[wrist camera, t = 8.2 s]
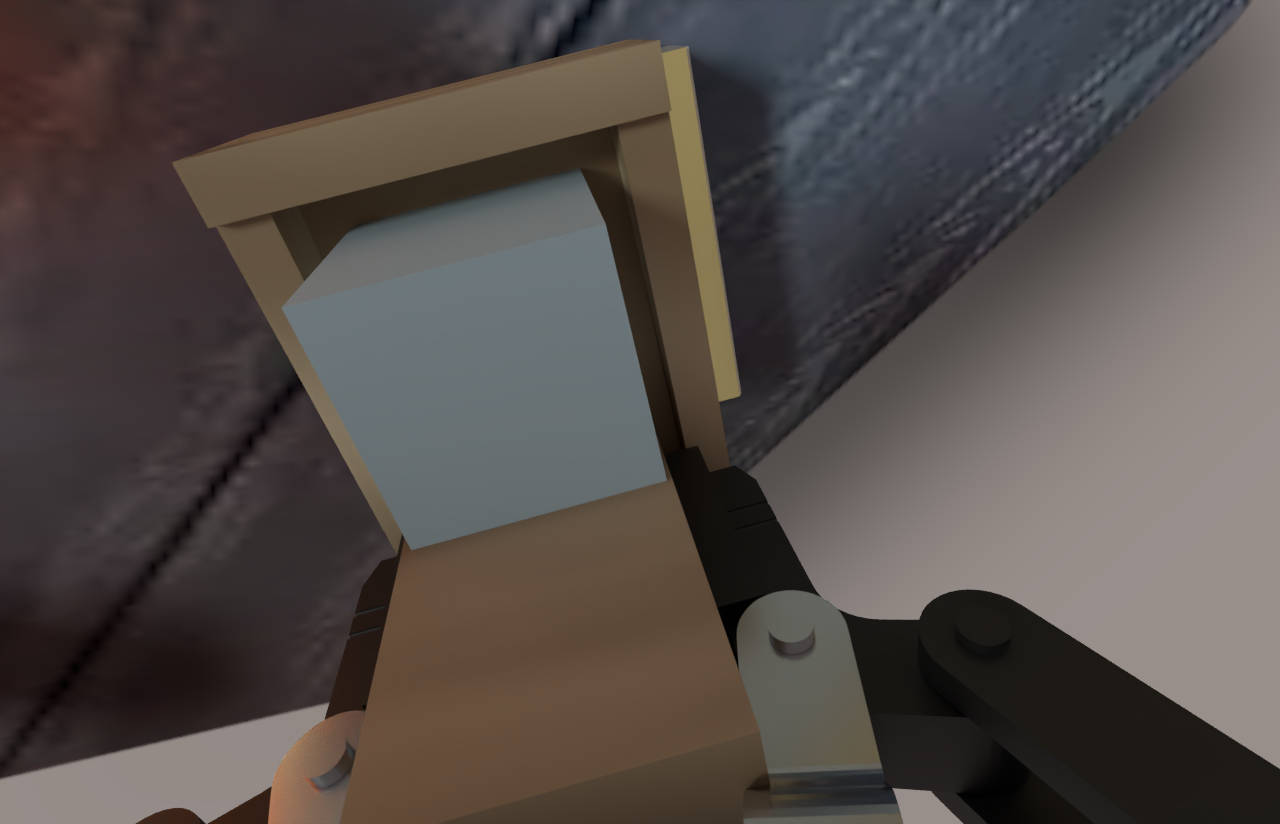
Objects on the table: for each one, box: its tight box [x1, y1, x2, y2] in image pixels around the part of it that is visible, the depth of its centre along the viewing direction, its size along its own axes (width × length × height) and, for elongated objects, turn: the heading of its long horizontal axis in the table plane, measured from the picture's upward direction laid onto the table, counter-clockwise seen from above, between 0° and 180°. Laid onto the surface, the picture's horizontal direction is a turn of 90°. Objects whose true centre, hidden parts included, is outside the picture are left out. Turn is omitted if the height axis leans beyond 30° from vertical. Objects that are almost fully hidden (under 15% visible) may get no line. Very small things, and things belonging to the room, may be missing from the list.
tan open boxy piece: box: [172, 40, 770, 824], centre depth 10 cm, size 14×6×8 cm, turn 12°
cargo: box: [282, 168, 667, 550], centre depth 9 cm, size 3×3×3 cm
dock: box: [661, 45, 741, 402], centre depth 23 cm, size 12×12×3 cm
